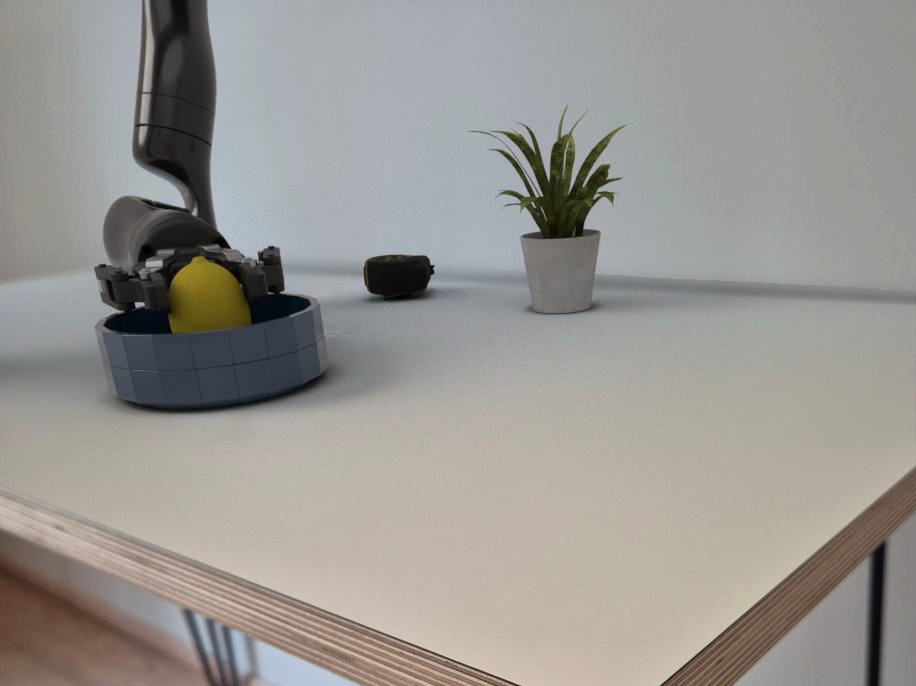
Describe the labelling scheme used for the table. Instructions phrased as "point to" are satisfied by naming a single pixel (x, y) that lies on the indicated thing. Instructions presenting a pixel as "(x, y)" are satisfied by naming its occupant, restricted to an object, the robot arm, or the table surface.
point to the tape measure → (397, 274)
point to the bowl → (214, 355)
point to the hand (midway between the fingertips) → (209, 292)
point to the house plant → (560, 222)
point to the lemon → (206, 299)
